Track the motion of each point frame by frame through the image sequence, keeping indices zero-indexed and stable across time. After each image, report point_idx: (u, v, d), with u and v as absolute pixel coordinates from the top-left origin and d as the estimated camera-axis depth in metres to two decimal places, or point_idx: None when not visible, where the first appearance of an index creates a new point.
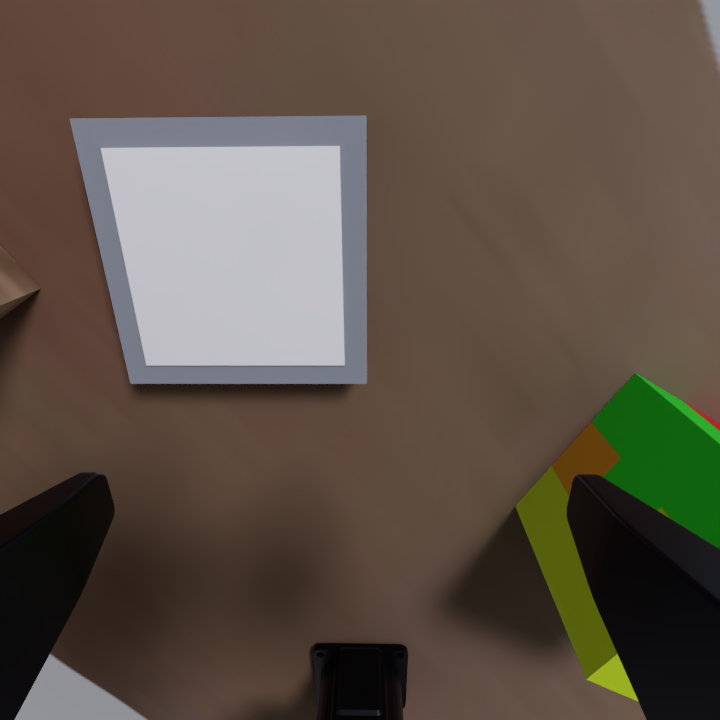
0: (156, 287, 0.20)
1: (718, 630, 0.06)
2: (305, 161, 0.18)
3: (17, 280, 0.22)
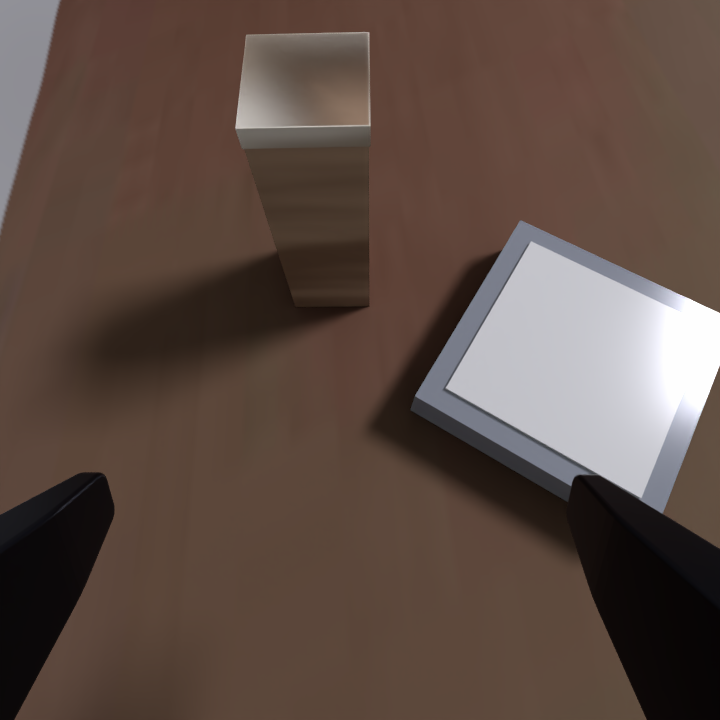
0: (504, 336, 0.22)
1: (718, 630, 0.06)
2: (679, 322, 0.22)
3: None
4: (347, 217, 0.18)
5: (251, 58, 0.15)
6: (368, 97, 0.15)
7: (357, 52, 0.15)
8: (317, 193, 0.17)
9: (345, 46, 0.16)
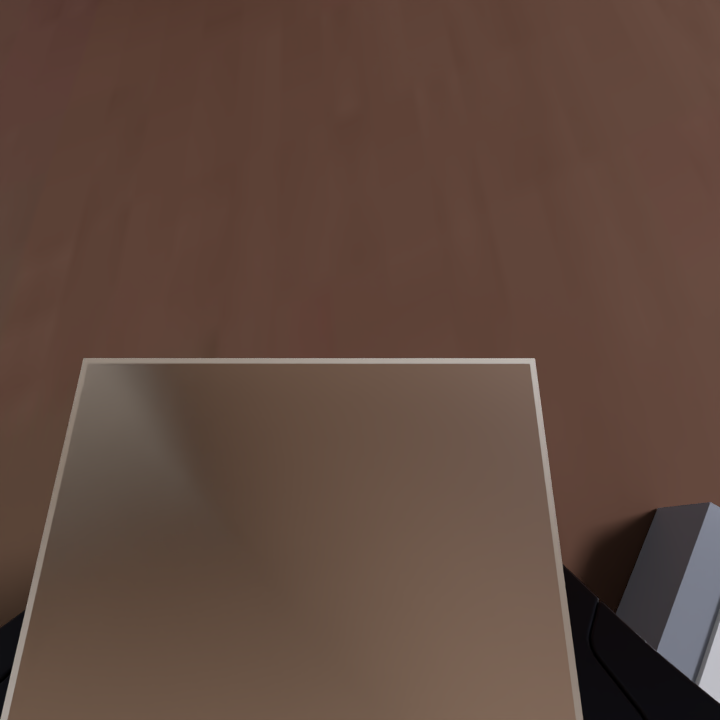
0: None
1: None
2: None
3: None
4: None
5: (84, 484, 0.04)
6: None
7: (501, 462, 0.04)
8: None
9: (452, 430, 0.04)
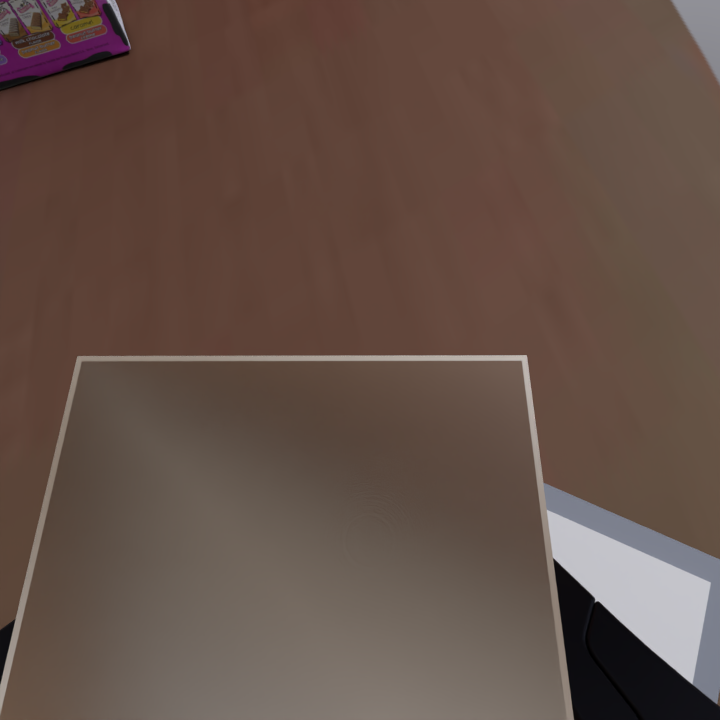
0: None
1: None
2: (673, 581, 0.18)
3: None
4: None
5: (78, 481, 0.04)
6: None
7: (493, 458, 0.04)
8: None
9: (444, 427, 0.04)
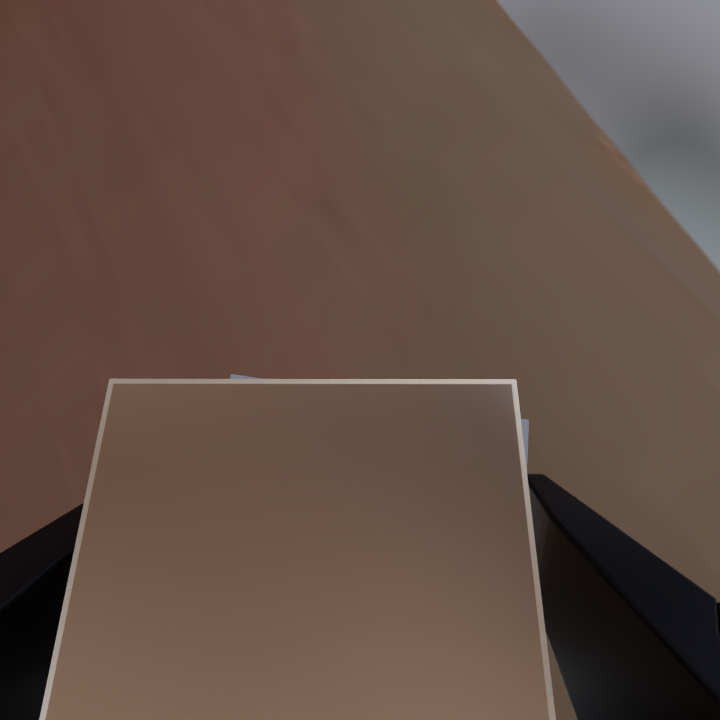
0: None
1: (631, 629, 0.06)
2: None
3: None
4: None
5: (113, 493, 0.04)
6: None
7: (485, 472, 0.04)
8: None
9: (441, 444, 0.04)
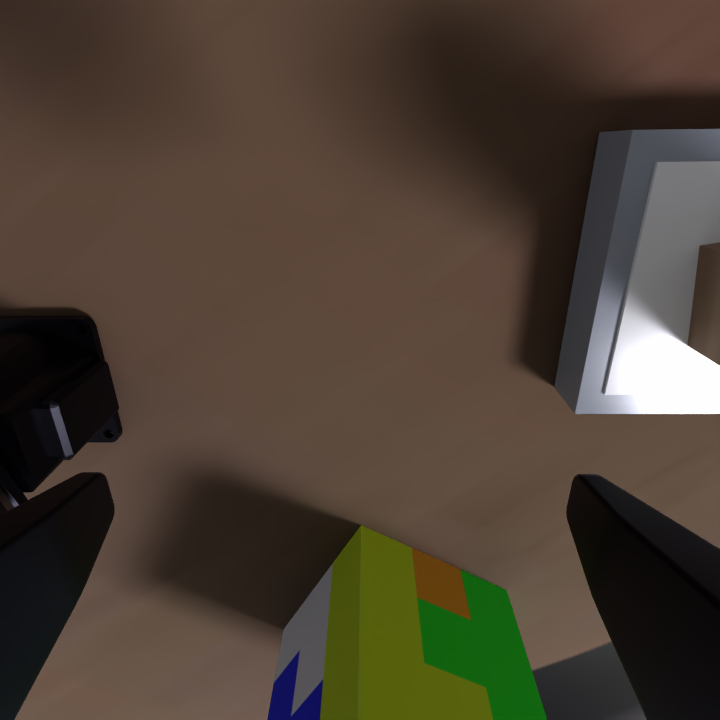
0: None
1: (718, 630, 0.06)
2: None
3: None
4: None
5: None
6: None
7: None
8: None
9: None
